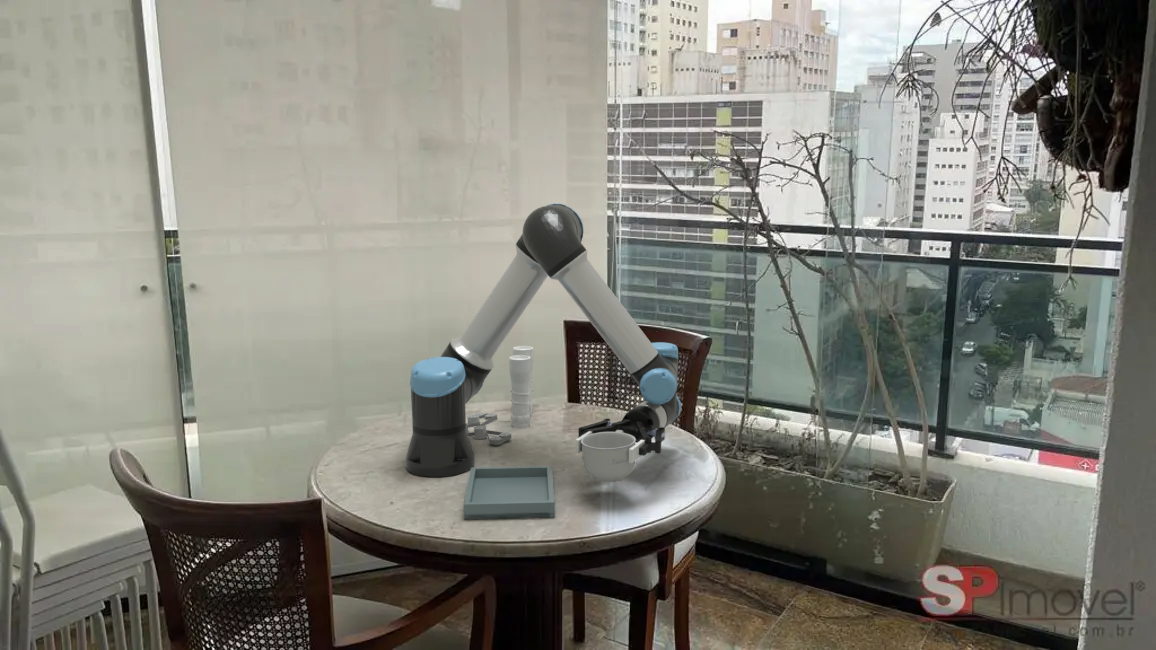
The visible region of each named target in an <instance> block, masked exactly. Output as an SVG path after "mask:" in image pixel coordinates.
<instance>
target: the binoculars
mask: <svg viewBox="0 0 1156 650" xmlns="http://www.w3.org/2000/svg"><path fill="white" fill-rule="evenodd" d="M512 353H513V355H512V356H509V357H508V358H509V360H508V361H509V375H510V376H509V377H510V381H511V383H510V384H511V390H510V393H511V400H510V402H511V414H510V415H511V416H510V420H511V426H512V428H516V429H524V428H529V427H530V426H529V425H530V423H531V422H530V421H531V414H532V413H533V407H534V402H533V391H534V390H533V379H532V378H533V374H532V373H533V372H532V371H533V363H534V347H533V346H530V345H518V346H514V347H513V348H512ZM528 426H529V427H528Z"/></svg>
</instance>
